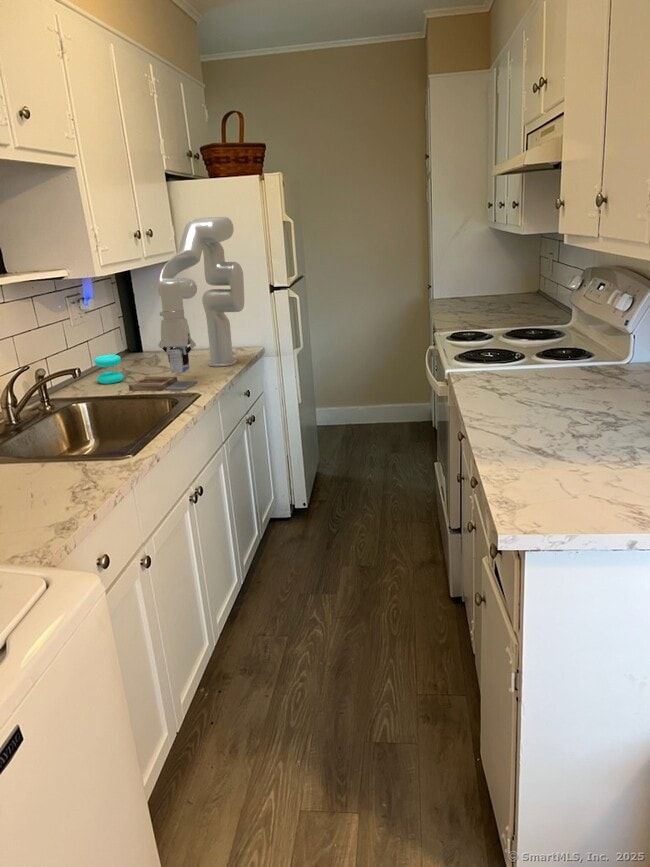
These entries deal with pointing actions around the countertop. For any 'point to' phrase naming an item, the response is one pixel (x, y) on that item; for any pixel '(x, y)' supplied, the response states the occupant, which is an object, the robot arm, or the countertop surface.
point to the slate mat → (181, 385)
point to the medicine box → (177, 360)
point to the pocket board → (152, 383)
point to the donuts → (111, 375)
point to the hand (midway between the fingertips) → (179, 363)
